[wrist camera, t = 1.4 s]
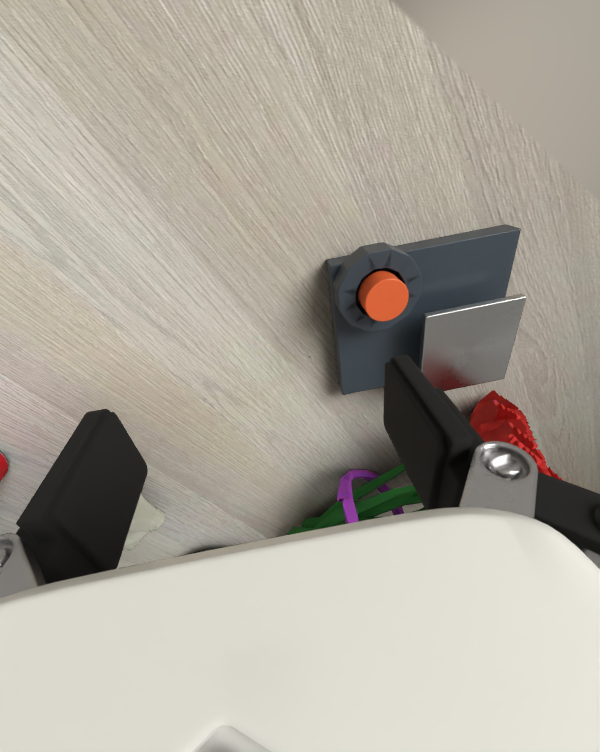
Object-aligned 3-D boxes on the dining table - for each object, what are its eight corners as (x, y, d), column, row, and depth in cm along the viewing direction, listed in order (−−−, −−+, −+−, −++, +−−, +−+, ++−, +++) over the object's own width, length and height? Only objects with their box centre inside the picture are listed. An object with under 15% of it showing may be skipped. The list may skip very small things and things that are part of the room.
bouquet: (264, 463, 46) (469, 343, 30) (342, 501, 53) (536, 421, 38) (244, 643, 32) (608, 590, 16) (354, 660, 39) (670, 635, 24)
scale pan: (422, 313, 24) (426, 316, 24) (521, 293, 24) (527, 296, 24) (416, 392, 29) (419, 396, 28) (500, 375, 29) (504, 378, 28)
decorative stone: (130, 546, 39) (42, 613, 30) (94, 481, 40) (-4, 527, 31) (190, 513, 36) (111, 578, 26) (149, 442, 36) (57, 480, 27)
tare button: (357, 275, 22) (364, 283, 21) (399, 266, 22) (410, 274, 21) (358, 315, 24) (366, 325, 23) (398, 307, 24) (407, 317, 23)
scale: (324, 246, 24) (334, 259, 21) (508, 210, 24) (543, 218, 21) (338, 384, 31) (347, 407, 29) (479, 356, 32) (501, 376, 29)
